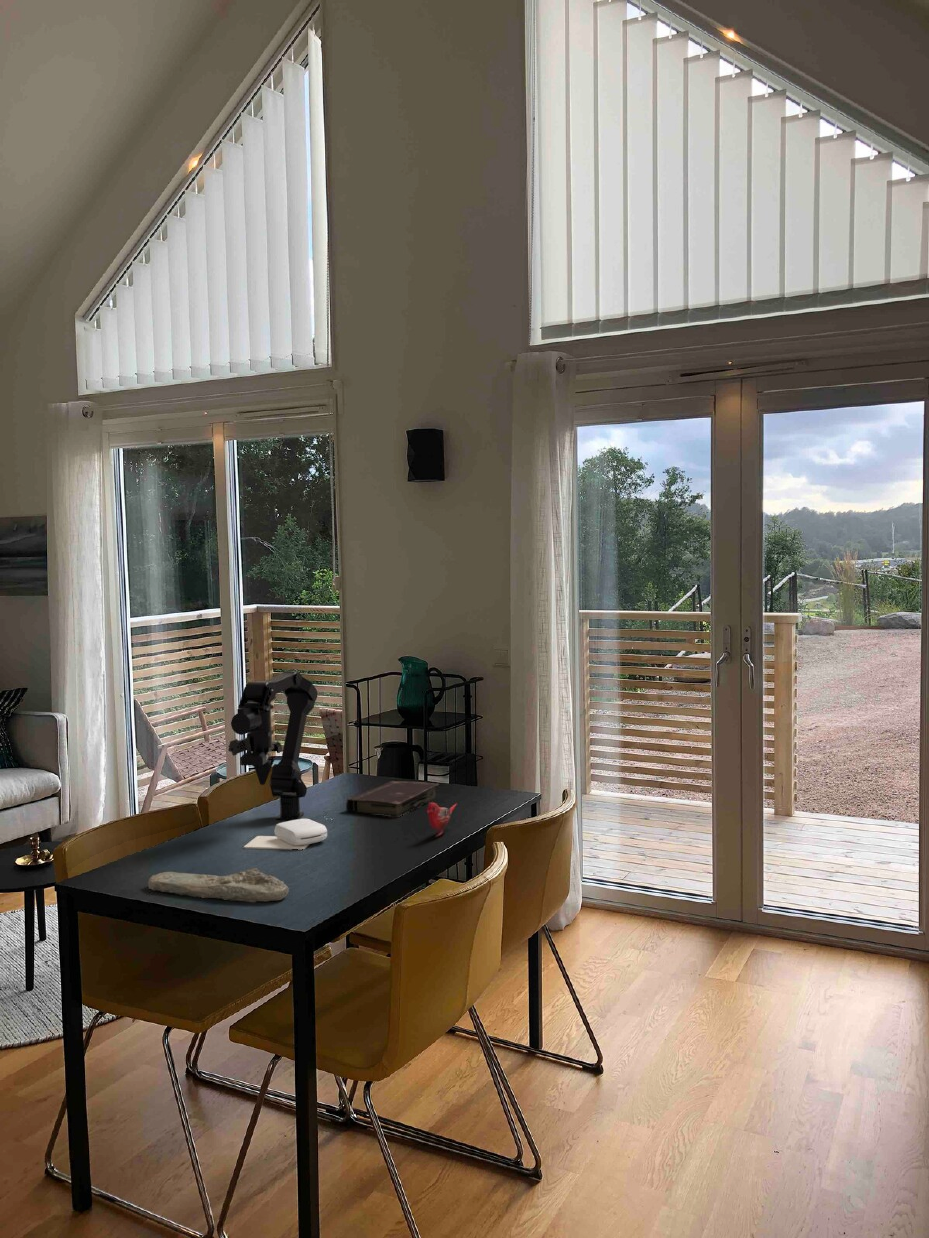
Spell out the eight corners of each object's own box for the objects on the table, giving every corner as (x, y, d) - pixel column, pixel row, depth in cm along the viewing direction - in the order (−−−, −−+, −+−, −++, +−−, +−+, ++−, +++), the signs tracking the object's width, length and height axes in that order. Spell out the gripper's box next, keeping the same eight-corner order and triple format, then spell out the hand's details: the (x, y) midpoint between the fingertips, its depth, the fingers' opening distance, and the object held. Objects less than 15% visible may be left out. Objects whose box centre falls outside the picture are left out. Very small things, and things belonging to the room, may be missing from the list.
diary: (345, 814, 294) (344, 797, 294) (389, 795, 316) (389, 779, 316) (400, 819, 285) (400, 802, 285) (442, 799, 308) (441, 783, 307)
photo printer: (308, 816, 272) (330, 825, 262) (308, 831, 272) (331, 841, 262) (273, 822, 265) (294, 832, 255) (274, 838, 266) (295, 849, 256)
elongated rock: (165, 885, 236) (139, 901, 226) (162, 863, 235) (136, 879, 226) (298, 890, 224) (276, 908, 215) (295, 867, 224) (273, 884, 215)
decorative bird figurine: (423, 841, 261) (422, 803, 261) (452, 824, 277) (452, 788, 277) (433, 843, 260) (432, 804, 259) (462, 825, 276) (461, 789, 275)
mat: (257, 837, 269) (257, 835, 269) (315, 838, 266) (315, 837, 266) (243, 848, 259) (243, 846, 259) (303, 849, 256) (303, 848, 256)
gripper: (242, 721, 283) (244, 776, 284) (219, 734, 265) (222, 792, 266) (281, 721, 282) (283, 776, 283) (261, 734, 263) (263, 792, 265)
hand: (262, 784), depth 274 cm, fingers closed
